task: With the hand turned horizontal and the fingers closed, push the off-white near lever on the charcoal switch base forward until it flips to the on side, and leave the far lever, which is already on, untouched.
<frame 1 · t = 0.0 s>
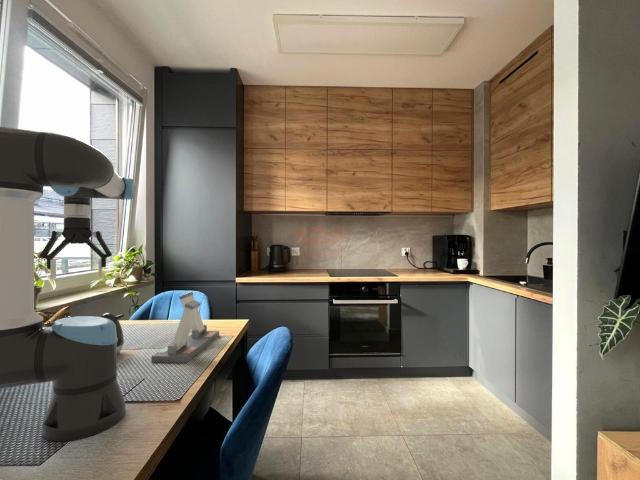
hand: (77, 277, 112), 28 cm above the table, tool pointing down, fingers open, 13 cm apart
far lever: (193, 314, 131), point 11 cm above the table, hinge at 20.0°
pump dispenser: (107, 355, 114), on the table
switch base: (189, 347, 122), on the table
near lever: (185, 326, 113), point 11 cm above the table, hinge at -20.0°
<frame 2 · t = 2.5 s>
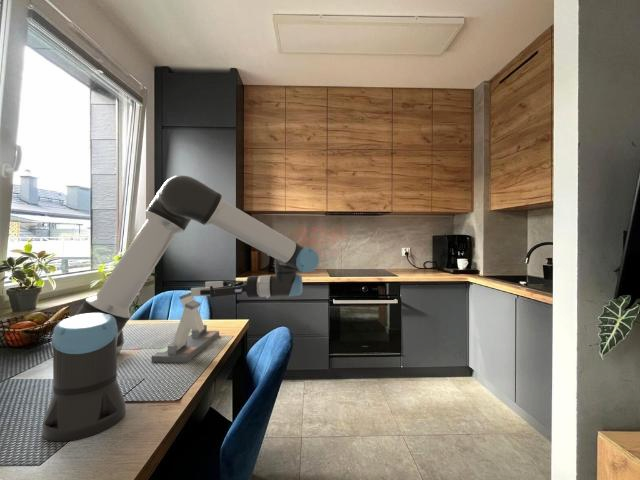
hand: (198, 288, 113), 24 cm above the table, tool horizontal, fingers open, 13 cm apart
nothing on the table moved.
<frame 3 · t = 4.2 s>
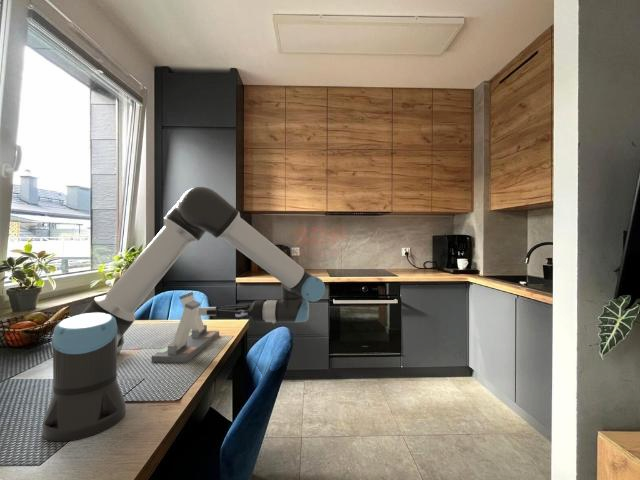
hand: (199, 311, 113), 16 cm above the table, tool horizontal, fingers closed
nothing on the table moved.
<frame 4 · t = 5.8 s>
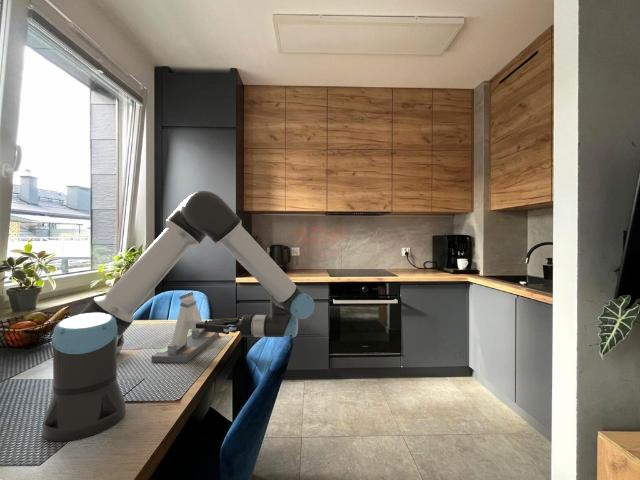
hand: (188, 324, 113), 11 cm above the table, tool horizontal, fingers closed
near lever: (183, 325, 113), point 11 cm above the table, hinge at -14.0°, touching gripper
everything else where it was.
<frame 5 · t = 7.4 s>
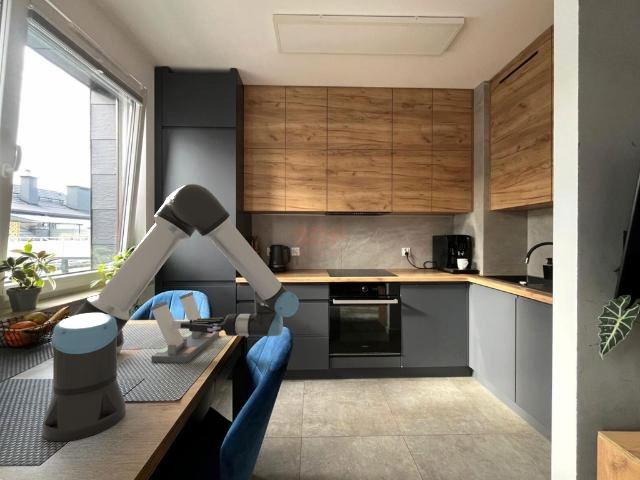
hand: (173, 324, 113), 11 cm above the table, tool horizontal, fingers closed
near lever: (168, 326, 113), point 10 cm above the table, hinge at 24.8°, touching gripper
everything else where it was.
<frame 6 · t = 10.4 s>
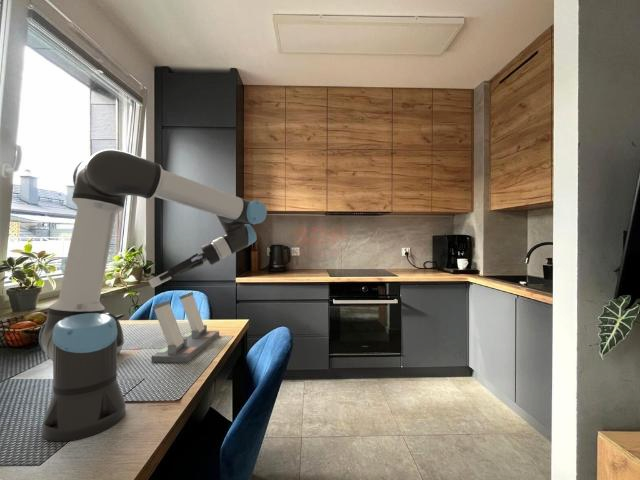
hand: (150, 284, 106), 26 cm above the table, tool tilted 65°, fingers closed
near lever: (169, 326, 113), point 10 cm above the table, hinge at 21.4°
everything else where it was.
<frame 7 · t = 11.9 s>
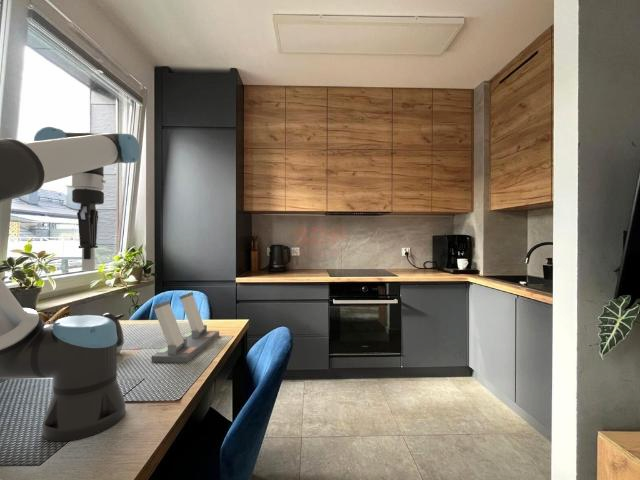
hand: (88, 270, 93), 32 cm above the table, tool pointing down, fingers closed
nothing on the table moved.
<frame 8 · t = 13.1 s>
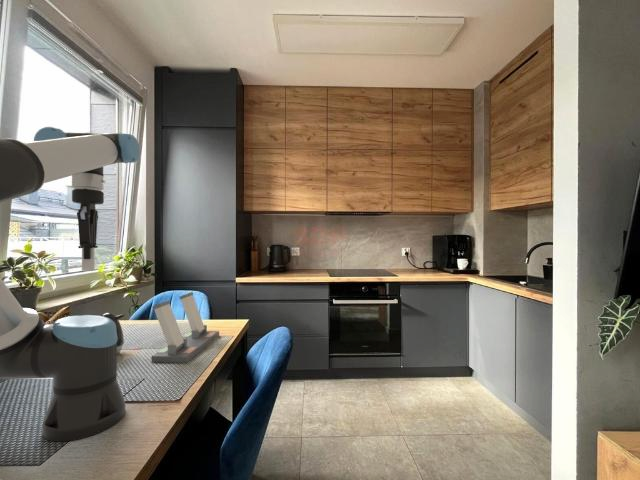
hand: (88, 270, 93), 32 cm above the table, tool pointing down, fingers closed
nothing on the table moved.
at the end: near lever at +21° (first picture: -20°); far lever at +20° (first picture: +20°) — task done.
